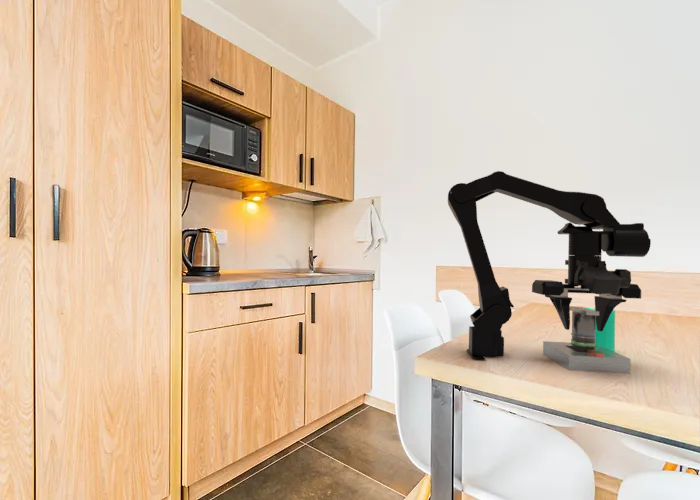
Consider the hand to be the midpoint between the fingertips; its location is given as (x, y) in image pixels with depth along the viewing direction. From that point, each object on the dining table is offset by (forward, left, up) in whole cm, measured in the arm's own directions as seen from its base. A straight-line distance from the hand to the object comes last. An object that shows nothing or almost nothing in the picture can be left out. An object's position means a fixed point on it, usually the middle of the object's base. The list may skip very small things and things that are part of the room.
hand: (583, 330), depth 71 cm
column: (0, 0, -3) cm, 3 cm away
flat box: (0, 0, -8) cm, 8 cm away
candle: (+10, +12, -8) cm, 17 cm away
